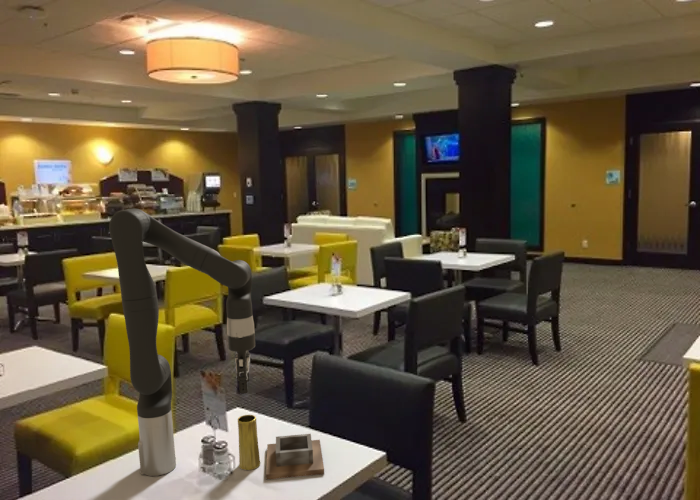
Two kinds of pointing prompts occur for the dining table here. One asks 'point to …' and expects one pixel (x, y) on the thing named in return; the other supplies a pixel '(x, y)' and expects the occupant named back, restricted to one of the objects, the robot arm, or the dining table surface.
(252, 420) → the vase
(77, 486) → the dining table surface
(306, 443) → the dock
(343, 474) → the dining table surface
